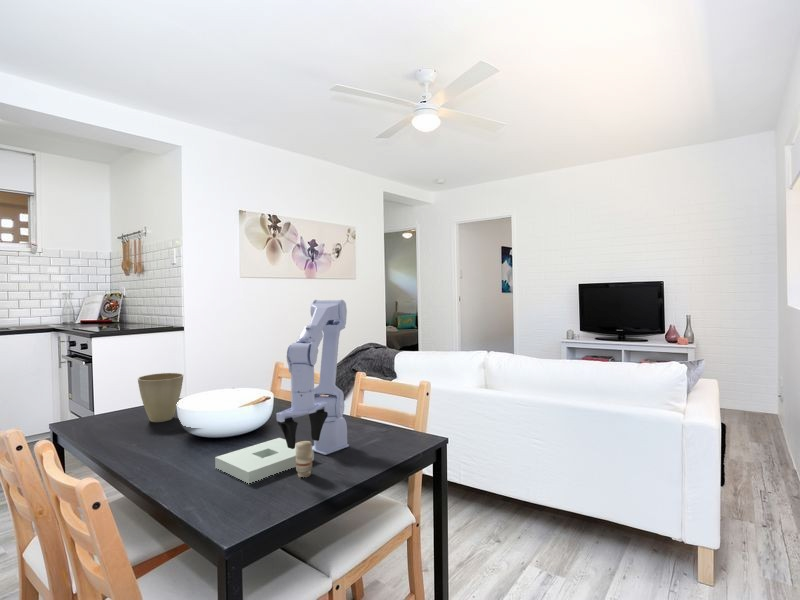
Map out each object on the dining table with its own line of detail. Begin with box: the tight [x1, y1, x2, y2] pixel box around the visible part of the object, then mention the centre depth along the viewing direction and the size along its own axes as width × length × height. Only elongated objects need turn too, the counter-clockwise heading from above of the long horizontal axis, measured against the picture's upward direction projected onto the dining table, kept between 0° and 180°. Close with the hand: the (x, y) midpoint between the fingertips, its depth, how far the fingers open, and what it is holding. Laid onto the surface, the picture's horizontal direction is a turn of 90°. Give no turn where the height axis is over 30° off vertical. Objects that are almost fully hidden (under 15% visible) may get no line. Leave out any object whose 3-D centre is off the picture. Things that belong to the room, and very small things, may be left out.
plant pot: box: [137, 372, 184, 423], centre depth 167 cm, size 15×15×16 cm
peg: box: [295, 440, 313, 479], centre depth 115 cm, size 4×4×8 cm
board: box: [214, 437, 315, 485], centre depth 122 cm, size 20×16×3 cm
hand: (303, 443), depth 115 cm, fingers open, 7 cm apart
